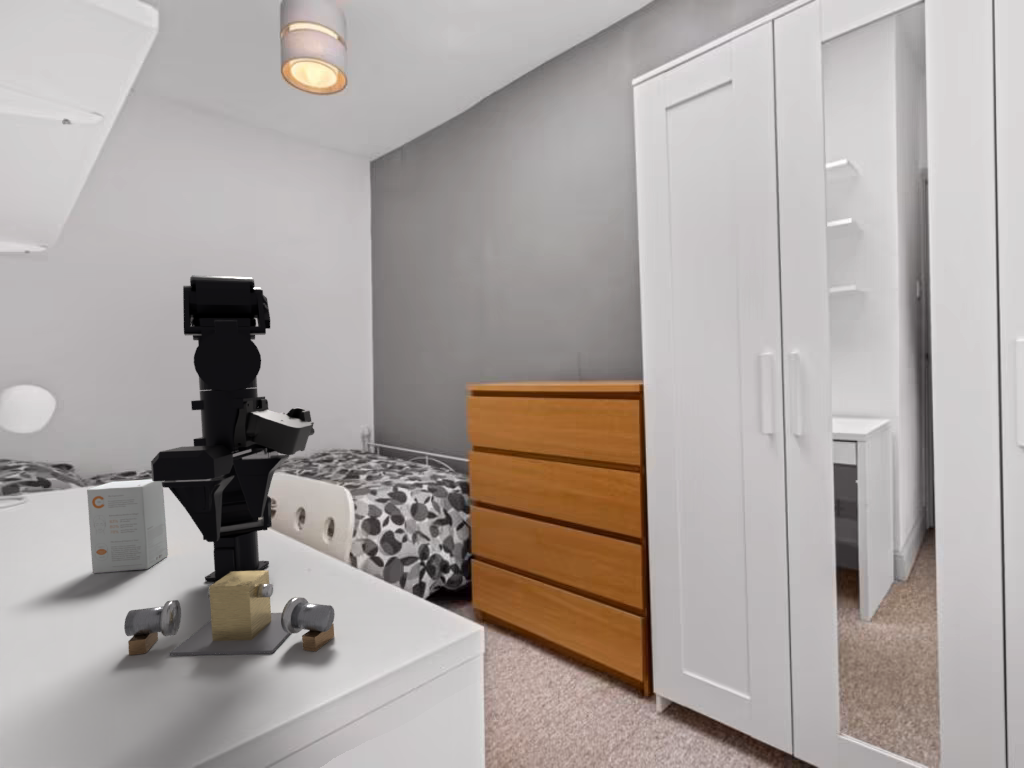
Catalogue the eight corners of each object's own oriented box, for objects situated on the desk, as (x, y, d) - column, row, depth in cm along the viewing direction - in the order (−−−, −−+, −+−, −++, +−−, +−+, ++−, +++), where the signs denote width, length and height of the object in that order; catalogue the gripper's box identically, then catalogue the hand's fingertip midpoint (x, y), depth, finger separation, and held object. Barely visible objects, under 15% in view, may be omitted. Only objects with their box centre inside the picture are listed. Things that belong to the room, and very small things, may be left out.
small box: (168, 556, 91) (164, 477, 91) (147, 570, 85) (142, 485, 84) (116, 560, 90) (111, 480, 90) (90, 574, 84) (85, 489, 83)
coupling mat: (218, 616, 67) (218, 614, 67) (307, 614, 66) (307, 612, 66) (169, 655, 58) (169, 652, 58) (272, 653, 57) (272, 650, 57)
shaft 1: (182, 635, 62) (180, 594, 62) (170, 650, 59) (167, 608, 59) (138, 640, 61) (136, 600, 61) (123, 657, 58) (121, 613, 58)
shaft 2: (282, 648, 58) (280, 605, 58) (304, 632, 62) (302, 591, 62) (317, 652, 57) (315, 609, 57) (338, 636, 61) (336, 595, 60)
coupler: (224, 622, 65) (221, 571, 64) (281, 621, 64) (278, 570, 64) (201, 641, 60) (198, 586, 60) (262, 639, 60) (259, 585, 60)
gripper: (258, 390, 52) (267, 554, 52) (331, 384, 70) (337, 505, 71) (142, 394, 52) (152, 558, 53) (245, 387, 71) (252, 508, 71)
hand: (236, 528), depth 62 cm, fingers open, 9 cm apart
